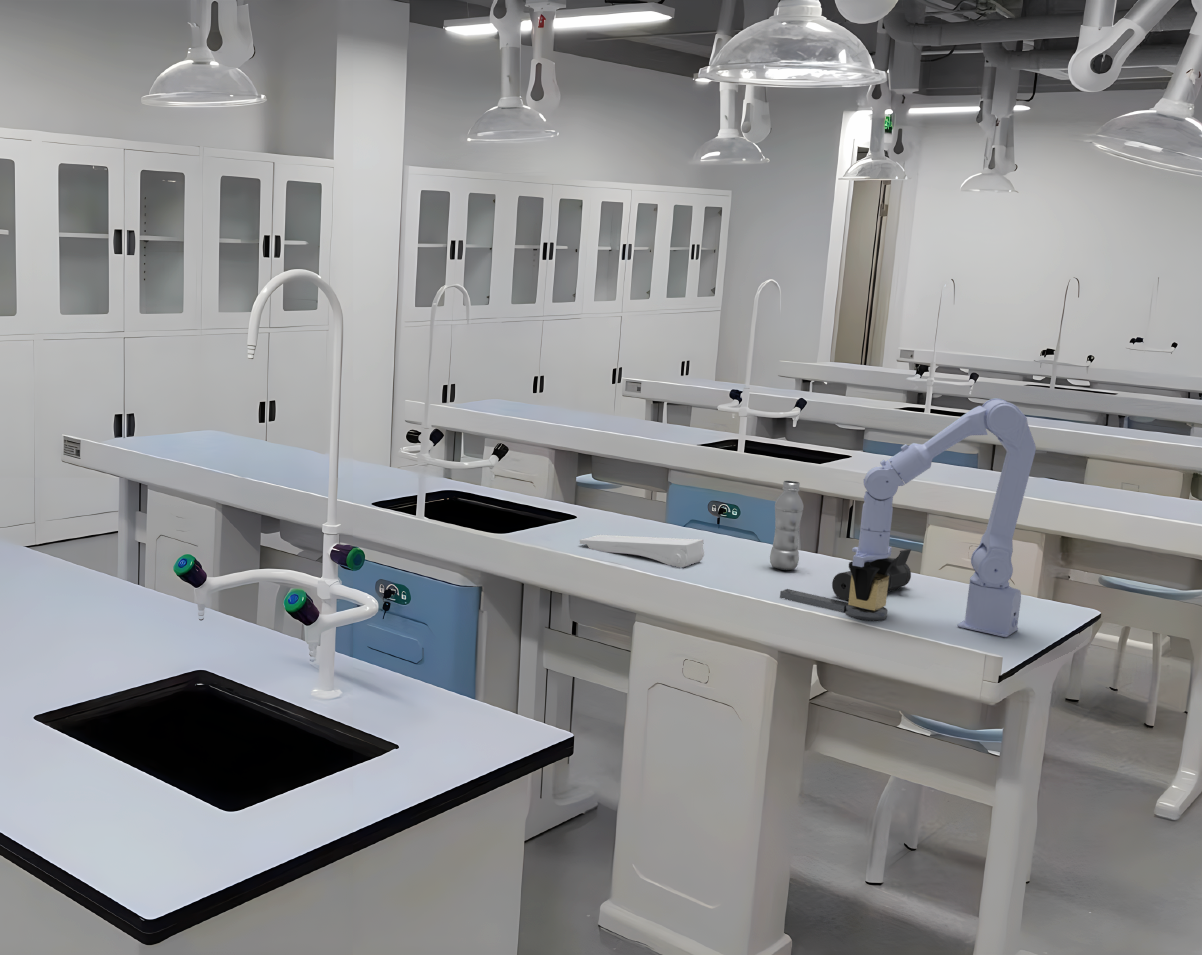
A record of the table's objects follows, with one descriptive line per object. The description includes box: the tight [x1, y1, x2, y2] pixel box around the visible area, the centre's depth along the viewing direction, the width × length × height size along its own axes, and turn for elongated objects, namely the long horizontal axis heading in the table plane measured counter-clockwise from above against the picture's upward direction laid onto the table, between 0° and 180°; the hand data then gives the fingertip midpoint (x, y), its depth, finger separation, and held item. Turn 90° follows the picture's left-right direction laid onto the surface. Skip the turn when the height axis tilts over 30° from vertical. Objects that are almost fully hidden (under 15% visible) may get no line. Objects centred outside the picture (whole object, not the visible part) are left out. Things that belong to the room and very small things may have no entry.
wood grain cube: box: [848, 573, 889, 611], centre depth 228 cm, size 6×6×6 cm
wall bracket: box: [579, 534, 705, 568], centre depth 268 cm, size 10×7×28 cm
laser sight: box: [831, 548, 912, 601], centre depth 247 cm, size 10×22×10 cm, turn 135°
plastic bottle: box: [769, 480, 805, 571], centre depth 261 cm, size 6×7×20 cm
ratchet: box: [779, 588, 889, 622], centre depth 232 cm, size 22×8×5 cm, turn 55°
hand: (867, 596), depth 228 cm, fingers closed on wood grain cube, 5 cm apart
